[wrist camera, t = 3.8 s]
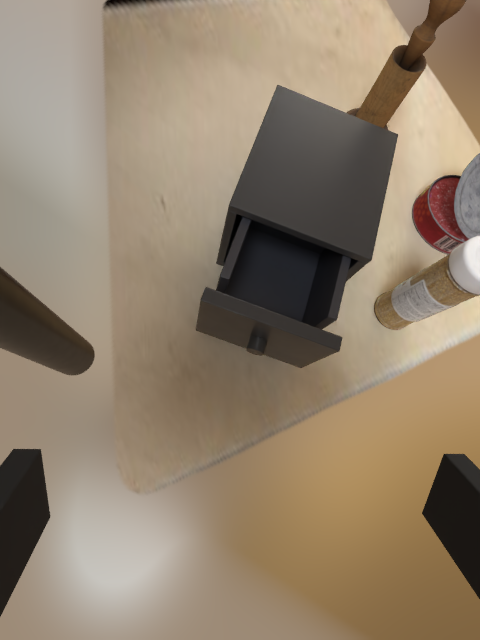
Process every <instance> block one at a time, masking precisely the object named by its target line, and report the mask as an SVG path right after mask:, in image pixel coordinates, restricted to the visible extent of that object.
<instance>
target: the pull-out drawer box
mask: <svg viewBox="0 0 480 640" xmlns="http://www.w3.org/2000/svg"><path fill="white" fill-rule="evenodd" d="M350 262H351V258H350V257H347V256H345V255H342V254H340V253H337V252H334V251H332V250H329V249H327V248H324V247H321V246H319V245H316V244H314V243H311V242H308V241H306V240H303V239H301V238H298V237H295V236H293V235H290V234H288V233H285V232H282V231H280V230H277V229H275V228H272V227H270V226H267V225H264V224H262V223H259V222H257V221H254V220H251V219H249V218H246V217H244V216H243V217H242V219H241V222H240V225H239V227H238V230H237V232H236V235H235V238H234V240H233V243H232V246H231V248H230V251H229V253H228V256H227V259H226V261H225V264H224V267H223V269H222V272H221V274H220V278H219V281H218V285H217V289H216V291H215V290H213V289H210V288H207V287H206V288H205V290H204V293H203V295H202V298H201V301H200V308H199V314H198V320H197V326H196V330H197V331H200V332H202V333H205V334H208V335H211V336H213V337H216V338H219V339H222V340H225V341H227V342H230V343H233V344H236V345H238V346H241V347H244V348H246V350H247V351H248V352H250V353H253V354H256V355H266V356H269V357H272V358H275V359H277V360H280V361H283V362H286V363H288V364H291V365H294V366H297V367H300V368H302V367H304V366H307V365H309V364H311V363H313V362H316V361H318V360H320V359H322V358H325V357H327V356H329V355H331V354H334V353H336V352H338V351H339V350H340V346H341V341H342V337H340V336H337V335H335V334H332V333H329V332H327V331H324V330H322V329H323V328H325V327H326V326H328V325H329V324H331V323H332V322H334V321H336V320H337V317H338V312H339V308H340V304H341V300H342V295H343V291H344V287H345V283H346V278H347V274H348V270H349V266H350Z"/></svg>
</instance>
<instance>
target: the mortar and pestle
mask: <svg viewBox="0 0 480 640" xmlns="http://www.w3.org/2000/svg"><path fill="white" fill-rule="evenodd" d="M465 2H466V0H430V4H429V10H428V15H427V18H426V20H425V21H424V22H423V23H422V25H420V26H417V27H416V28H415V29H414V31H413V33H412V36H411V38H410V41H409V43H408V46H407V45H401V46H398V47H396V48H395V49H394V50H393V52H392V53H391V55H390V57H389V59H388V61H387V62H386V64H385V66H384V68H383V69H382V71H381V73H380V75H379V76H378V78H377V80H376V82H375V83H374V85H373V87H372V89H371V90H370V92H369V94H368V95H367V97H366V99H365V101H364V102H363V104H362V106H361V107H360V108H357V109H352V110H350V111H348V112H347V114H350V115H352V116H355V117H357V118H359V119H362V120H364V121H367V122H369V123H372V124H374V125H376V126H379V127H381V128H384V129H386V130H388V127H387V125H386V124H387V123H388V121H389V120H390V118H391V117H392V115H393V114H394V112H395V111H396V109H397V108H398V107H399V105H400V104H401V102H402V101H403V99H404V98H405V96H406V95H407V94H408V92H409V91H410V89H411V88H412V86H413V85H414V84H415V82H416V81H417V79H418V78H419V76H420V75H421V74H422V72H423V71H424V69H425V67H426V59H425V57H424V56H423V53H424V52H425V51H426V50H427V49H428V48H429V47H430V46H431V45H432V43H433V42H434V41H435V31H436V29H437V28H438V27H439V25H440V24H442V23H443V22H444V21H446V20H447V19H449V18H450V17H452V16H453V15H454V14H456V13H457V12H458V11H459V10H460V9H461V8H462V6H463V5H464V3H465Z"/></svg>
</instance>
